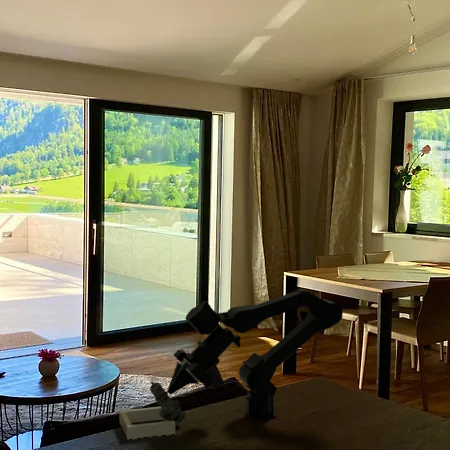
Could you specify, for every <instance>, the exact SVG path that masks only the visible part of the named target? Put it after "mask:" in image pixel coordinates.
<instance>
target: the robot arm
mask: <svg viewBox="0 0 450 450" xmlns="http://www.w3.org/2000/svg"><path fill="white" fill-rule="evenodd" d="M301 307H304V308H305V309H307V310H308V312H307V315H306V317H305V319H304V320H303V321H302V322H300V323H299V324H298V325H297V326H295V328H293V329H292V330H291V331H290V332H289V333H288V334H286V336H284V337H283V338H281V340H280V341H278V342H277V343H276V344H275V345H274V346H272V347H271V348H270V349H269V350H268V351H267V352H265V353H263V354H262V355H259V354H257V353H256V352H254V353H252V354H251V355H250V356H249V357H248V358H247V359H245V360H243V361H242V365H241V366H240V368H239V372H238V375H239V376H238V377H239V379H240V380H241V382H242V383H243V384H245V387H246V388H247V389H248V390H246V391H247V392H246V393H247V395H246V397H245V399H244V400H245V404H244V405H245V406H244V407H245V411H244V413H245V414H246V415H247V416H248V417H250V418H251V419H252V420H253V421H256V420H263V419H273V418H276V417H277V414H275V410H274V409H275V408H274V406H275V403H274V402H275V401H274V399H275V394H276V392H277V389H278V387H277V386H276V385H275V384H274V383H273V382H272V381H271V380H272V379H273V377H274V375H275V373H276V371H277V369H278V367H280V365H281V364H282V363H283V364H284V362H285V361H286V360H287V359H289V357H291V356H292V355H293V354H295V353H296V352H297V351H298V350H299V349H300V348H301V347H303V345H305V344H306V343H307V342H309V340H311V339H312V338H313V337H314V336H316V335H317V333H320V332H323V331H326V330H328V329H330V328H332V327H334V326H335V325H337V324H338V323H339V322H341V321H342V319H343V313H344V312H343V308H342V306H341V305H340V304H339V303H337V302H334V301H332V300H328V299H325V298H324V299H323V298H320V297H319V296H316V295H314V294H313V293H312V292H310V291H309V290H306V289H302V288H298V289H296V290H295V291H291V292H290V293H287V294H283V295H281V296H279V297H276V298H272V299H269V300H266V301H262V302H261V303H258V304H249V305H247V304H246V305H239V306H233V307H231V308H229V309H228V310H227V311H224V312H223V311H222V312H218V313H217V312H216V311H215V310H214V309H213V308H212V307H211V305H210V304H209V302H208V301H205V300H204V301H202V302H201V303H199V304H197V305H196V306H194V307H192V308H191V309H190V310H189V311H188V312H187V314H186V316H185V320H186V321H187V322H188V323H189V325H191V327H192V328H193V329H194V330H195V331H196V332H198V334H199V335H200V336H203V335H206V337H205V338H204V339H203V340H202V341H201V340H198V342H197V343H196V344H197V346H196V348H194V349H193V350H192V352H189V351H187V352H186V351H185V350H184V349H177V351H175V352H174V354H173V356H174V357H175V359H177V361H176V365H175V368H174V371H173V374H172V376H171V379H170V382H169V386H168V388H167V392H168V395H172V394H174V393H175V392H178V391H179V390H181V389H183V388H185V387H186V386H188V385H191V384H194V385H195V384H196V385H200V383H201V384H202V385H203V386H204V387H205V389H206V390H208V389H209V388H212V391H213V390H216V389H218V388H220V387H222V386H224V385H225V382H224V379H223V377H222V374H221V371H220V370H219V367H218V364H219V363H220V358H219V357H220V356H221V355H222V354H224V352H225V351H227V349H228V348H229V347H230V346H231V345H232V344H233V345H234V346H236V347H237V348H240V347H241V336H240V335H239V334H246V333H247V332H249V331H251V330H253V329H254V328H257V327H258V326H259V325H260V324H261V323H263V322H264V321H265V320H269V319H270V318H274V317H277V316H279V315H282V314H285V313H288V312H291V311H293V310H297V309H299V308H301ZM220 324H222V325H223V326H225V327H224V328H223V327H222V325H220ZM229 328H230V329H229ZM231 330H234V331H235V332H237V333H239V334H234V333H233V331H231ZM199 382H200V383H199Z"/></svg>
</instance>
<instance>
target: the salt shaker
mask: <svg viewBox="0 0 450 450" xmlns="http://www.w3.org/2000/svg"><path fill="white" fill-rule="evenodd" d="M150 384H151V386H150V388H149V390H150V392H151V394H152V395H153V397H154V398H155V399H154V400H155V401H156V402H157V404H158V405H159V407H161V409H162V410H161V411H160V413H159V415H160V416H161V417H163V418H164V419H163V420H165V421H173V420H174V421H175V426H177V425H179V424H180V423H181V422H182V421H183V420H184V419H185V417H186V415H187V413H186V412H185V411H181V410H182V407H181V402H180V400H178V399H177V400H176V399H175V400H172V399H171V397H170V396H169V393H168V392H167V391H166V390H165V389H164V387H163V386H162V384H161V383H160V382H154V381H153V380H152V381H150Z"/></svg>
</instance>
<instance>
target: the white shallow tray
mask: <svg viewBox="0 0 450 450" xmlns="http://www.w3.org/2000/svg"><path fill="white" fill-rule="evenodd" d="M161 410H162V409H161V406H153V407H145V408H136V409H135V408H133V409H126V410H124V409H123V410H119V425H120V426H121V428H122V431H123V432H124V435H125V437H126V439H127V440H128V441H130V440H129V439H132V440H138V439H137V438H141V439H144V438H143V437H149V438H152V437H151V436H157V437H163V436H162V435H166V436H173V435H172V434H174V435H176V425H175V421H174V420H173V421H169V420H165V419H164V418H163V417H161V416H160V415H159V413H160V411H161ZM161 420H162V421H161ZM163 420H165V421H163ZM152 421H155V422H152ZM156 421H158V422H156ZM143 422H148V423H143ZM134 423H138V424H134Z"/></svg>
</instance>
